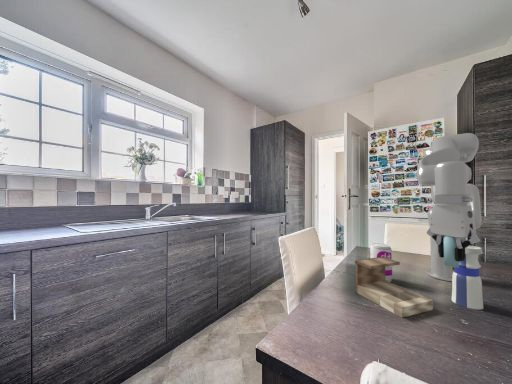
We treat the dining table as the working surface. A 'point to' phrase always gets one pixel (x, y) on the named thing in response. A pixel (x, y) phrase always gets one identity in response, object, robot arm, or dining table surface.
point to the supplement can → (382, 251)
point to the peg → (450, 251)
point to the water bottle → (468, 280)
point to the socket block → (387, 288)
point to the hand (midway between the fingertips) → (451, 258)
